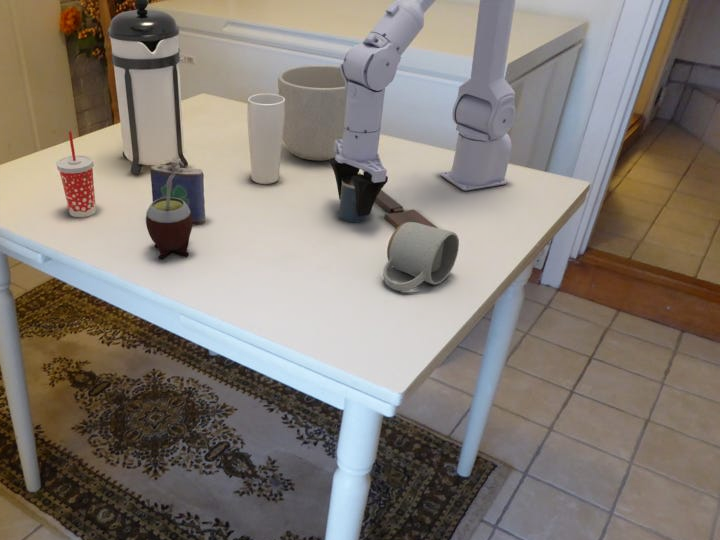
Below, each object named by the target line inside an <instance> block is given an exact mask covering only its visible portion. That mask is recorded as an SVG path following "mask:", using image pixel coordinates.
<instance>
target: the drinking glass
mask: <svg viewBox="0 0 720 540" xmlns="http://www.w3.org/2000/svg"><path fill="white" fill-rule="evenodd" d="M246 110H247V113H246V114H247V116H246V117H247V118H246V120H247V132H248V133H247V135H248V145H249V146H248V147H249V156H250V157H249V158H250V178H251V180H252V181H253V182H254V183H257V184H261V185H271V184H274V183H276V182H278V180H279V179H280V170H281V169H280V168H281V167H280V166H281V160H282V159H281V158H282V151H283V150H282V149H283V143H284V142H283V134H284V125H285V98H284V97H282V96H280V95H279V94H276V93H257V94H252V95H251V96H249V97H248V98H247V109H246Z"/></svg>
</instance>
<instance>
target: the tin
mask: <svg viewBox="0 0 720 540" xmlns="http://www.w3.org/2000/svg"><path fill="white" fill-rule="evenodd" d="M352 176H356V175H347V176H345V177H343V178H342V187H341V198H340V199H339V211H338V217H339V218H340V220H342V221H345V222H348V223H362V222H365V221H366V220H367V219H368V215H367V216H361V217H359V216H357V213H356V192H355V187H354V184H353V181H352Z"/></svg>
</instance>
